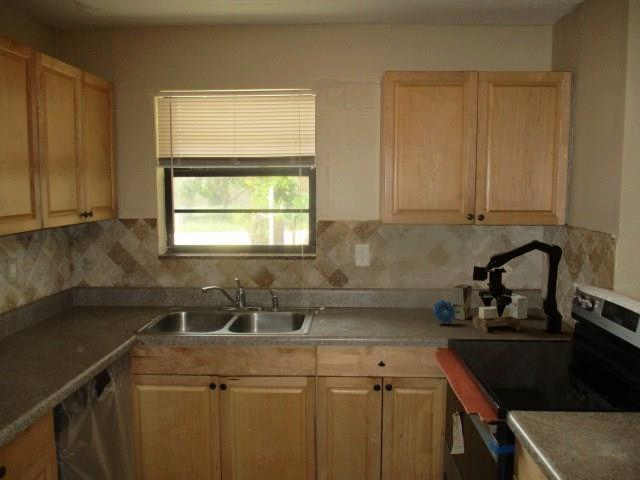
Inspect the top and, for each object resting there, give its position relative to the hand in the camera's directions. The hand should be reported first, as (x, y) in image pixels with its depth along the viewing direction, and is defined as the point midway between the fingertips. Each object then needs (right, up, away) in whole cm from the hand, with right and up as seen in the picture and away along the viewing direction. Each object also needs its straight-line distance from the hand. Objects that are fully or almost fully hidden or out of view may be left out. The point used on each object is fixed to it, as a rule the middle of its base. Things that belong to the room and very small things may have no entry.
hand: (494, 314), depth 246 cm
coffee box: (-10, -4, +19) cm, 22 cm away
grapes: (-22, -6, +6) cm, 23 cm away
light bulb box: (+17, -4, +21) cm, 28 cm away
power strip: (0, -4, 0) cm, 4 cm away
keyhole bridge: (0, -6, -1) cm, 6 cm away
